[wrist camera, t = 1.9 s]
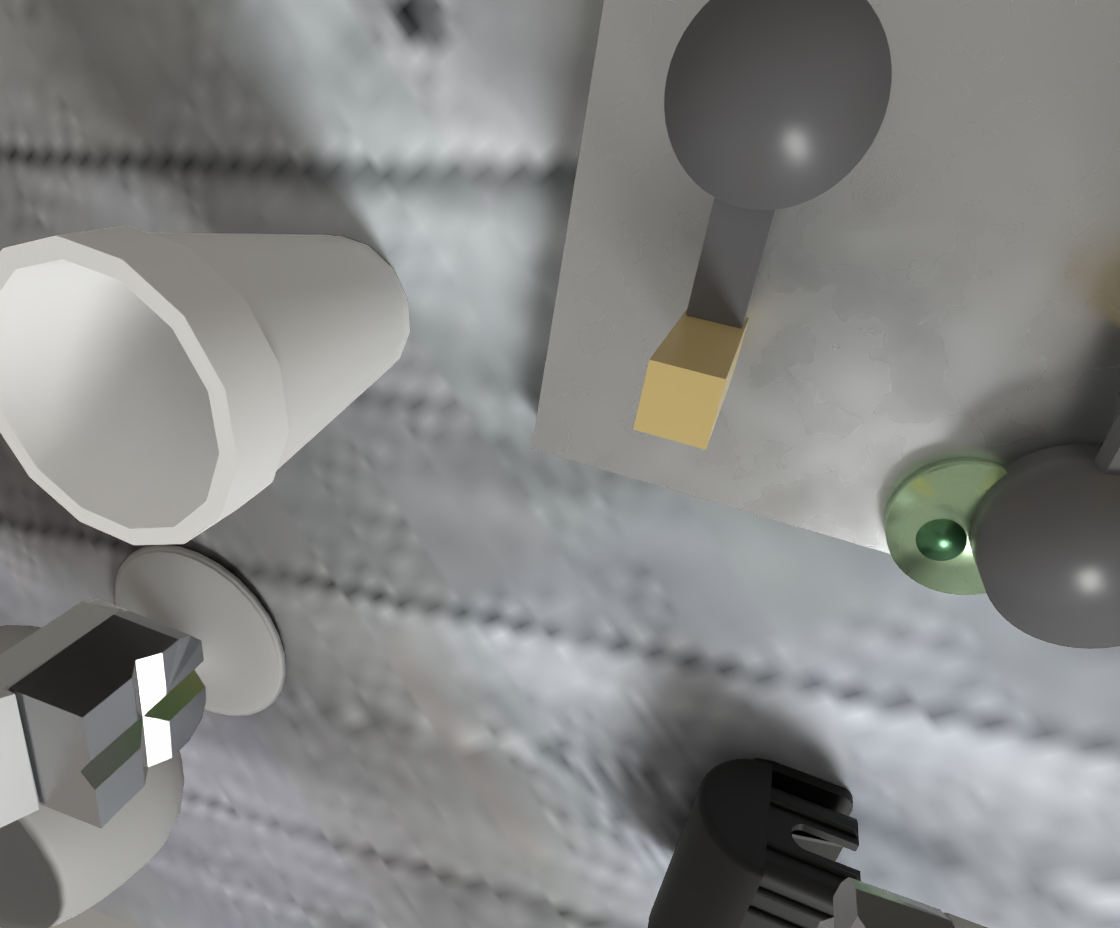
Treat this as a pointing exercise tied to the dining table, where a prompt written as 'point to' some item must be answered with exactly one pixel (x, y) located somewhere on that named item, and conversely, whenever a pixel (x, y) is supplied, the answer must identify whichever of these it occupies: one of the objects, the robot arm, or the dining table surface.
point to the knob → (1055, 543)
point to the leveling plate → (864, 282)
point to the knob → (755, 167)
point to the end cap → (758, 851)
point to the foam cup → (183, 365)
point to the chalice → (147, 819)
